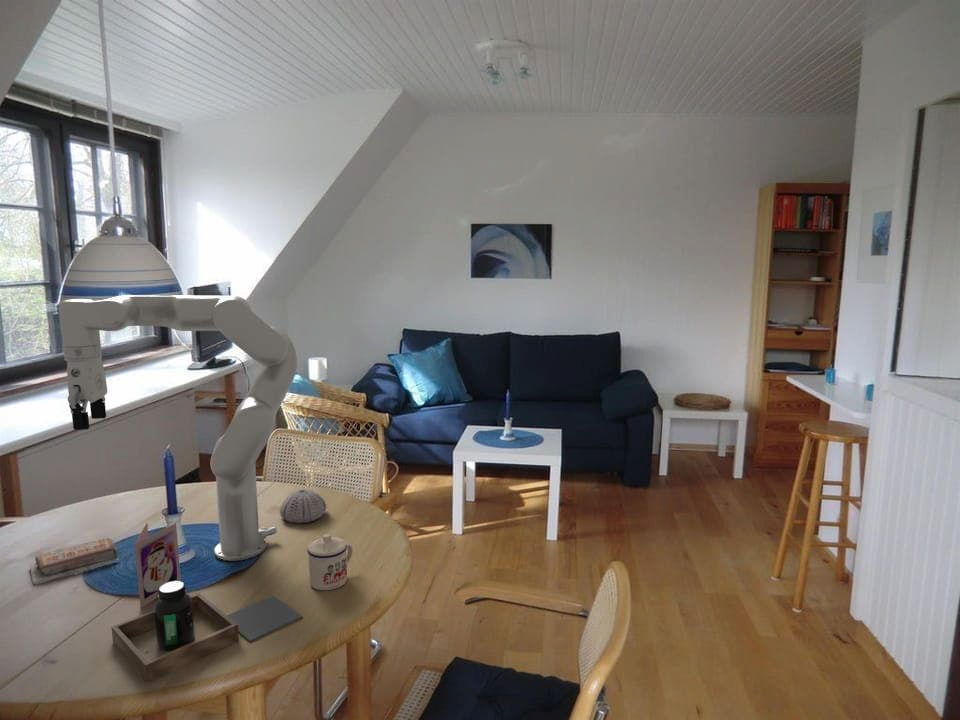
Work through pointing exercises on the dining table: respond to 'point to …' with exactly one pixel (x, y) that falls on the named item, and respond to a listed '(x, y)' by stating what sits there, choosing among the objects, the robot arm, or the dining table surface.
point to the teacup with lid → (328, 562)
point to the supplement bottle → (173, 616)
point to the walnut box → (181, 655)
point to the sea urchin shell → (302, 506)
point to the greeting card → (156, 561)
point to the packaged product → (72, 560)
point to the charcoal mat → (263, 618)
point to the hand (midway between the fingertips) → (90, 423)
